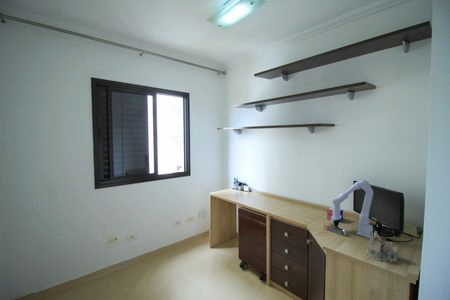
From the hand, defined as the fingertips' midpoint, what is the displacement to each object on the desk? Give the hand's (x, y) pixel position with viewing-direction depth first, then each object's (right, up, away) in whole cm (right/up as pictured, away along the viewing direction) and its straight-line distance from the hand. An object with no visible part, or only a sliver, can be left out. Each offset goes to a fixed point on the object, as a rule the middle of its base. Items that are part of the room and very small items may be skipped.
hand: (336, 228), depth 181 cm
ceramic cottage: (+8, -4, -41) cm, 42 cm away
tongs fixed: (-3, -2, -5) cm, 6 cm away
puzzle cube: (+11, 0, +23) cm, 26 cm away
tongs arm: (-1, -1, -2) cm, 3 cm away
